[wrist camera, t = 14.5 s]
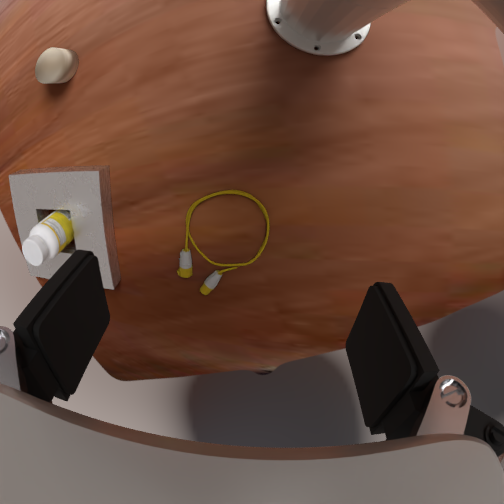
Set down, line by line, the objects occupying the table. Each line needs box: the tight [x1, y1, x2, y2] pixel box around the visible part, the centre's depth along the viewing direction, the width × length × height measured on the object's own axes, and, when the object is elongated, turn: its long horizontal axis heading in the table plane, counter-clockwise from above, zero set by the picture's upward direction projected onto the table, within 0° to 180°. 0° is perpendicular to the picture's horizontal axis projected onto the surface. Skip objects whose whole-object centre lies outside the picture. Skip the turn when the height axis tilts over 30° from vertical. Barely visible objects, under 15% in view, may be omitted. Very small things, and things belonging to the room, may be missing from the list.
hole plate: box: [9, 166, 121, 290], centre depth 37 cm, size 18×18×3 cm
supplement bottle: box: [22, 210, 74, 266], centre depth 34 cm, size 5×5×10 cm
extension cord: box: [177, 190, 270, 295], centre depth 39 cm, size 12×16×2 cm
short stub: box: [35, 48, 79, 83], centre depth 25 cm, size 5×5×4 cm
